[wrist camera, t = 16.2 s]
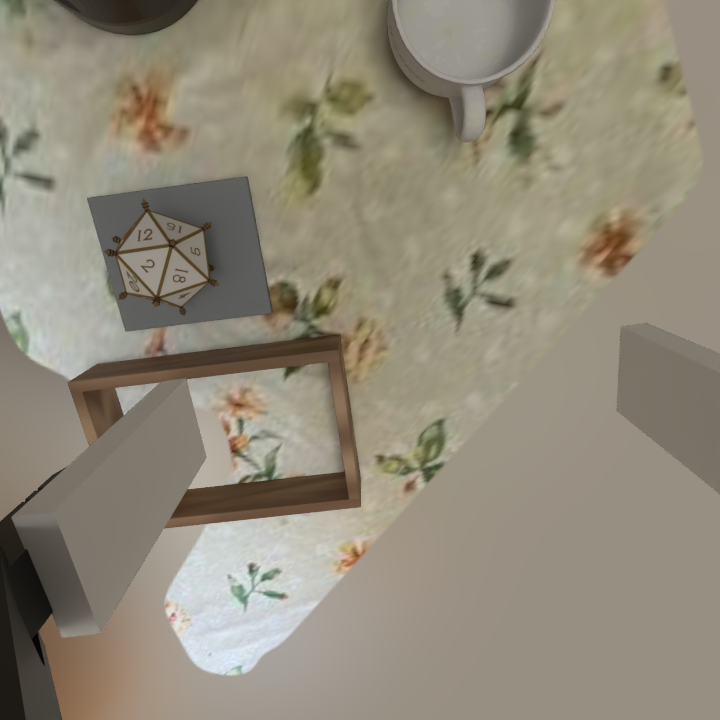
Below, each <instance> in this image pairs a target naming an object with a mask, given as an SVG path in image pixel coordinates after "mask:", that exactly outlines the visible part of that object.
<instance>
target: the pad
mask: <svg viewBox="0 0 720 720" xmlns="http://www.w3.org/2000/svg"><path fill="white" fill-rule="evenodd" d="M143 199H144V200H146V201H147V202H148V205H149V210H151V211H154V212H157V213H160V214H163V215H166V216H169V217H172V218H175V219H178V220H181V221H184V222H187V223H190V224H193V225H196V226H199V227H203V226H204V225H205V224H206V223H208V222H212V224H211V228H209V230H205V236H206V245H207V253H208V261H209V265H212V266H213V267H214V268H215V269H214V270H213V271H210V278H211V279H214V280H217V282H218V283H219V285H218V286H213V285H211V284H210V283H208V284H207V285H206V286H205V287H204V288H202V289H201V290H200V291H199V292H198V293H197V294H196V295H195V296H194V297H193V298H192V299H191V300H189V301H188V302H187V303H186V304H185V305H184V306H183V307H184V309H185V311H186V313H185V317H184V316H183V315H182V314H180V312H179V310H180V308H179V307H175V306H171V305H167V304H163V303H160V305H158V306H157V307H155V306H154V304H152V302H153V301H152V300H148V299H144V298H140V297H136V296H132V295H127V297H126V298H125V299H124V300H123V299H122V300H118V298H119V294H121V292H122V293H123V292H125V289H124V286H123V282H122V279H121V275H120V272H119V268H118V264H117V261H116V257H115V256H113V257H111V256H109V257H108V255H107V254H106V253H104V251H106V250H107V249H111V250H114V251H116V249H117V247H118V244H119V243H115V242H113V239H112V238H111V237H115V236H117V237H120V239H122V238H123V237H124V235H125V234H126V233H127V232H128V231H129V229H130V228H131V227H132V226H133V225H134V223H135V222H136V221H137V220H138V219H139V217H140V216H141V215H142V214H143V213H144V211H145V210H144V208H142V207H143V206H142V205H141V204H142V200H143ZM87 200H88V204H89V207H90V210H91V214H92V217H93V221H94V224H95V228H96V231H97V235H98V238H99V241H100V245H101V248H102V252H103V255H104V259H105V262H106V266H107V269H108V273H109V276H110V279H111V283H112V286H113V290H114V293H115V297H116V300H117V304H118V307H119V310H120V314H121V317H122V321H123V324H124V328H125V331H133V330H141V329H149V328H157V327H165V326H173V325H181V324H189V323H197V322H205V321H213V320H221V319H229V318H237V317H245V316H253V315H261V314H269V313H272V312H273V311H272V305H271V300H270V295H269V289H268V284H267V279H266V273H265V268H264V263H263V257H262V252H261V247H260V241H259V236H258V231H257V225H256V220H255V215H254V209H253V204H252V198H251V193H250V188H249V182H248V177H239V178H232V179H224V180H217V181H210V182H202V183H195V184H188V185H180V186H173V187H166V188H158V189H151V190H144V191H136V192H129V193H122V194H114V195H107V196H100V197H92V198H87Z"/></svg>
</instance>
